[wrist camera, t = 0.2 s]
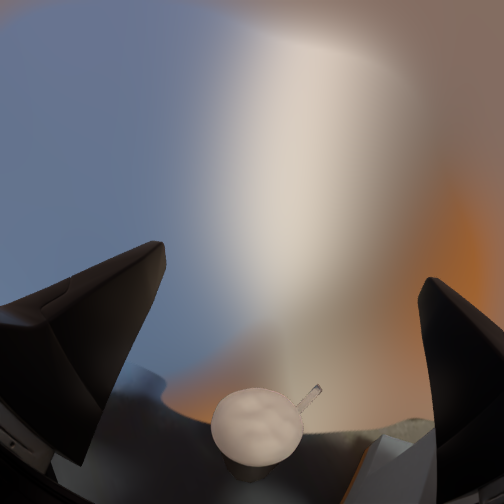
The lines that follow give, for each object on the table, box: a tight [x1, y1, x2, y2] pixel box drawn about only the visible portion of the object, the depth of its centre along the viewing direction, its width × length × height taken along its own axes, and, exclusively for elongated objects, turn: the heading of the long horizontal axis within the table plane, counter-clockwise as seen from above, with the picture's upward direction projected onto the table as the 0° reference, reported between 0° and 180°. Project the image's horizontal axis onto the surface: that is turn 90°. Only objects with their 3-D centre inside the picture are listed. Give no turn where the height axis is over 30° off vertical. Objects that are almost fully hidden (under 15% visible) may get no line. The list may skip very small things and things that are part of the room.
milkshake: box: [211, 384, 322, 483], centre depth 14 cm, size 4×5×10 cm
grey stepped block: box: [340, 428, 479, 504], centre depth 10 cm, size 8×4×12 cm, turn 149°
